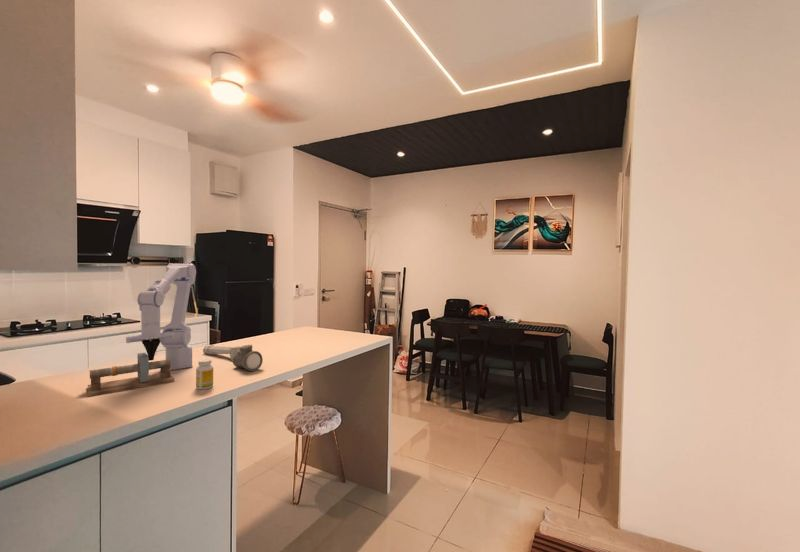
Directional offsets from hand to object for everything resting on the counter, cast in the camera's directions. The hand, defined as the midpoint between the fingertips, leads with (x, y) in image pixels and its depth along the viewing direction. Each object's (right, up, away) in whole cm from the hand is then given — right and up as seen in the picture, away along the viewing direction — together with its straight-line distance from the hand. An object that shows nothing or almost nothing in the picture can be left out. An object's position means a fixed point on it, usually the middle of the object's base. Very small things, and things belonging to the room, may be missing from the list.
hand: (151, 359), depth 132 cm
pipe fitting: (+27, -8, +18) cm, 34 cm away
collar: (-2, -7, -1) cm, 7 cm away
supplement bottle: (+23, -9, -5) cm, 25 cm away
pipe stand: (-4, -8, -3) cm, 10 cm away
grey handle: (+9, -8, +37) cm, 38 cm away
